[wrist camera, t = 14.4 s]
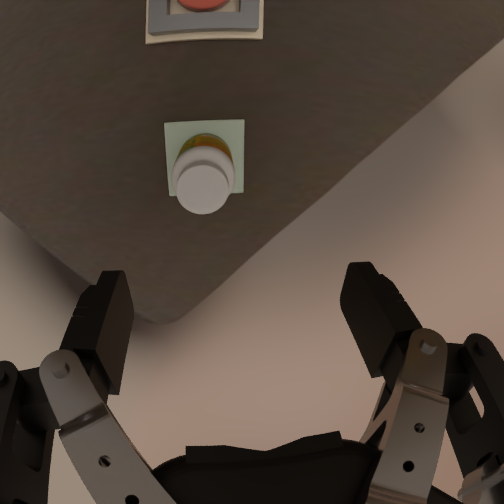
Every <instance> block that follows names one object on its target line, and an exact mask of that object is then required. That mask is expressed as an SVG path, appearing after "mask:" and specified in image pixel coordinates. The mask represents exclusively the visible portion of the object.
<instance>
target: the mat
mask: <svg viewBox="0 0 504 504" xmlns="http://www.w3.org/2000/svg"><path fill="white" fill-rule="evenodd" d="M164 128H165V145H166V160H167V173H168V185H169V196H177V195H176V193H175V192H174V190H173V187H172V183H171V173H172V169H173V165H174V163H175V161H176V158H177V156H178V154H179V152H180V149H181V147H182V146H183V144H184V143H185V142H186V141H187V140H188V139H189V138H191V137H192V136H194V135H197V134H201V133H211V134H214V135H217V136H219V137H220V138H222V139H223V140H224V141H225V142H226V143H227V145H228V146H229V148H230V151H231V155H232V160H233V164H234V168H235V184H234V187H233V190H232V192H231V193H243V181H244V119H227V120H198V121H181V122H167V123H164Z"/></svg>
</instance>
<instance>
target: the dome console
mask: <svg viewBox="0 0 504 504" xmlns="http://www.w3.org/2000/svg"><path fill="white" fill-rule="evenodd" d="M263 5H264V0H230V1H229V3H227V4H226V5H225V6H224V7H222V8H220V9H218V10H216V11H213V12H200V13H197V12H192V11H190V10H187V9H186V8H184V7H183V6H182V5H180V3H179V2H178V1H177V0H147V6H146V44H148V45H150V44H158V43H168V42H180V41H195V40H227V39H235V40H262V39H263Z"/></svg>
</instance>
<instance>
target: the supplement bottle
mask: <svg viewBox="0 0 504 504" xmlns="http://www.w3.org/2000/svg"><path fill="white" fill-rule="evenodd" d="M171 183H172V187H173V190H174V192H175V193H176V195H177V198H178V200H179V202H180V204H181V205H182V206H183V207H184V208H185V209H187V210H188V211H190V212H193V213H196V214H209V213H212V212H214V211H216V210H218V209H219V208H220V207H221V206H222V205H223V204H224V203H225V201H226V200H227V197H228V196H229V195H230V193H231V192H232V190H233V187H234V184H235V168H234V164H233V160H232V155H231V151H230V148H229V146H228V145H227V143H226V142H225V141H224V140H223V139H222V138H220V137H219V136H217V135H214V134H211V133H201V134H197V135H194V136H192V137H191V138H189V139H188V140H187V141H186V142H185V143H184V144H183V146H182V147H181V149H180V152H179V154H178V156H177V158H176V161H175V163H174V165H173V169H172V173H171Z"/></svg>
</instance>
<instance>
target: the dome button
mask: <svg viewBox="0 0 504 504" xmlns="http://www.w3.org/2000/svg"><path fill="white" fill-rule="evenodd" d="M177 1H178V2H179V3H180V5H182V6H183V7H184V8H186V9H187V10H190V11H192V12H197V13H200V12H213V11H216V10H218V9H220V8H222V7H224V6H225V5H226V4H227V3H229V1H230V0H177Z"/></svg>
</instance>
